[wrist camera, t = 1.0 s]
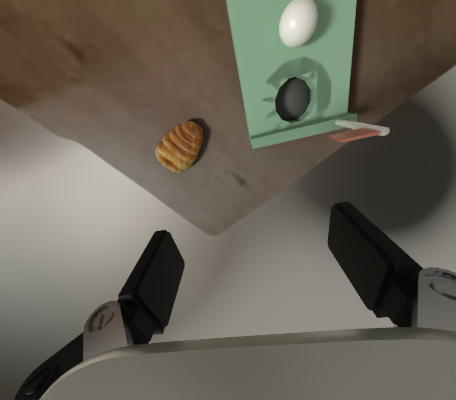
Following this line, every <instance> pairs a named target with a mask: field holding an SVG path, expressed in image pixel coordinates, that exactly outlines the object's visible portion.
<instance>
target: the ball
mask: <svg viewBox="0 0 456 400" xmlns="http://www.w3.org/2000/svg"><path fill="white" fill-rule="evenodd" d="M317 19H318V11H317V7H316V4H315V3H314V1H313V0H293V1H291V2H290V3H289V4H288V6H287V7H286V8H285V10H284V11H283V14H282V16H281V19H280V23H279V34H280V38H281V40H282V42H283V43H284V44H285V45H286V46H288V47H290V48H296V47H299V46H301V45H303V44H304V43H306V42H307V41H308V40H309V38H310V37H311V36H312V34H313V32H314V30H315V28H316V25H317Z"/></svg>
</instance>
